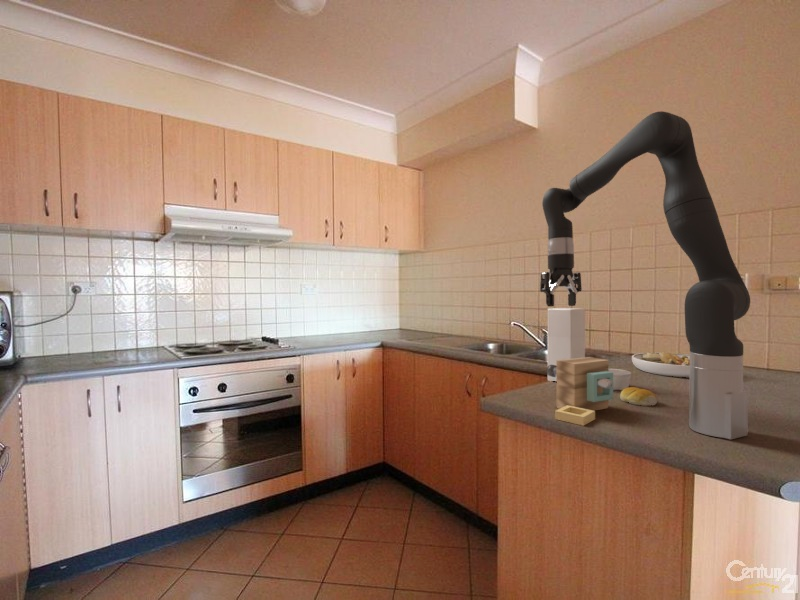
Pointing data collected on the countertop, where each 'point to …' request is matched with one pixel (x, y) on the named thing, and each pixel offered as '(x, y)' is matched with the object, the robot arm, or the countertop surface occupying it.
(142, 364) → the countertop surface
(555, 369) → the shaft
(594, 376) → the frame
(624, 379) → the ramekin
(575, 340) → the tall white carton
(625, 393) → the bread roll
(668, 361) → the bowl
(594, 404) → the block
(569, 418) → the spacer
